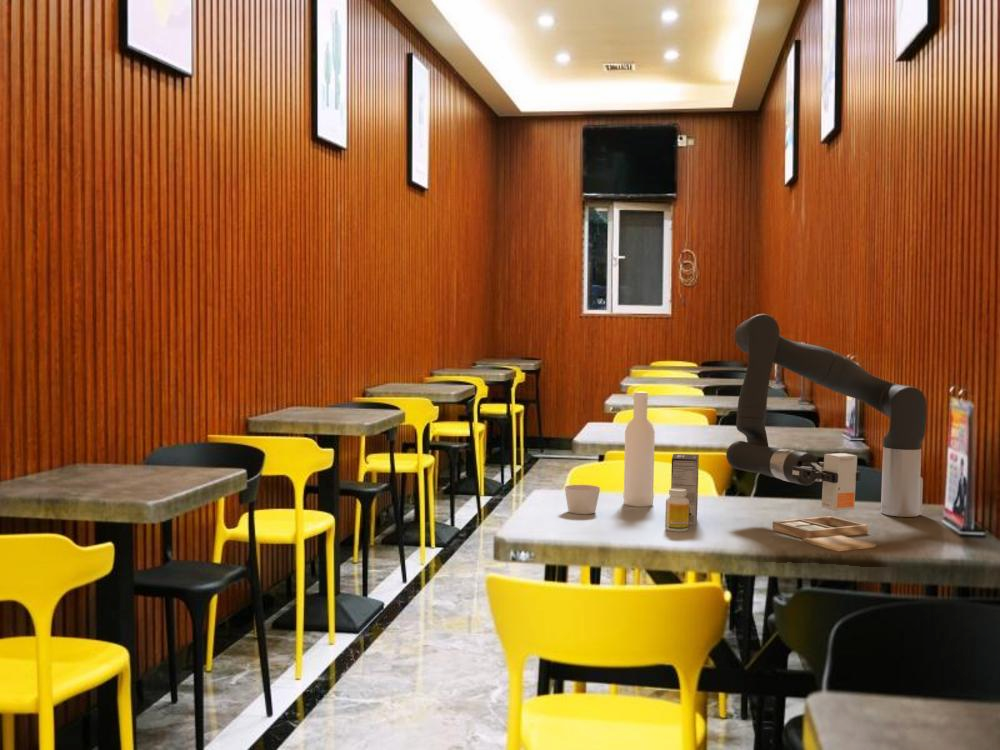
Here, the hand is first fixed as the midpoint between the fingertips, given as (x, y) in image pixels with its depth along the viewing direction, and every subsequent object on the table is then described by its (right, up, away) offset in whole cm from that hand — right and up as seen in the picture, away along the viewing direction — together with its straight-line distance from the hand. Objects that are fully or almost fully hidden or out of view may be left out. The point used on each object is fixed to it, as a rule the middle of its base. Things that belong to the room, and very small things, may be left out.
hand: (848, 477), depth 226 cm
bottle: (-39, -12, +50) cm, 64 cm away
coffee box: (-31, -14, +27) cm, 43 cm away
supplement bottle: (-35, -14, +16) cm, 41 cm away
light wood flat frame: (-1, -14, +16) cm, 22 cm away
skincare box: (-1, -7, +3) cm, 8 cm away
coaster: (-1, -15, +3) cm, 15 cm away
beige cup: (-55, -13, +37) cm, 68 cm away
